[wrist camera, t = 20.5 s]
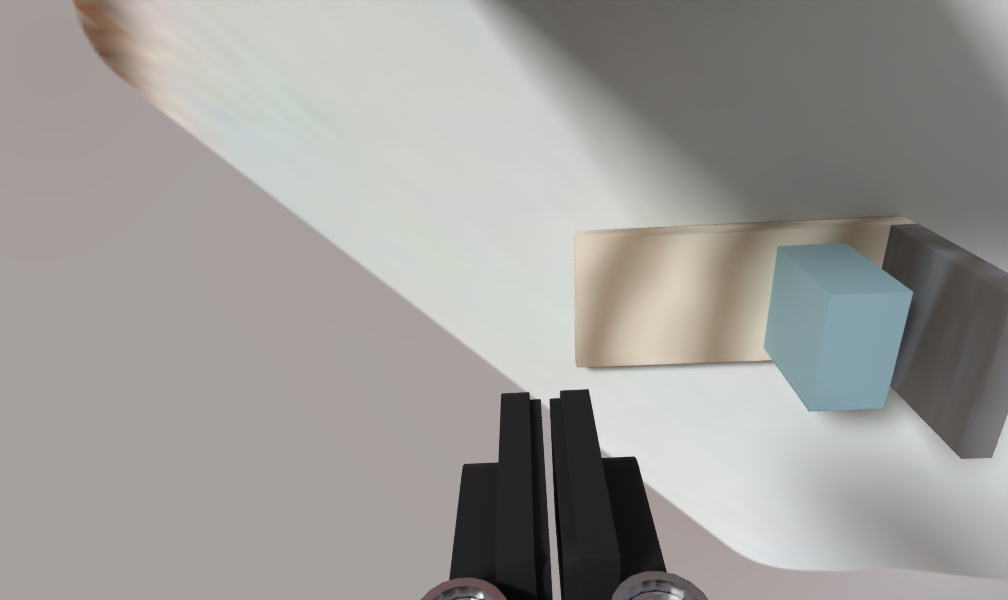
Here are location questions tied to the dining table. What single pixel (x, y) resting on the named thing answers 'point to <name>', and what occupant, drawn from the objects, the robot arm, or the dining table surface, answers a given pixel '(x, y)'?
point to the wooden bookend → (746, 297)
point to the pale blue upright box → (835, 326)
